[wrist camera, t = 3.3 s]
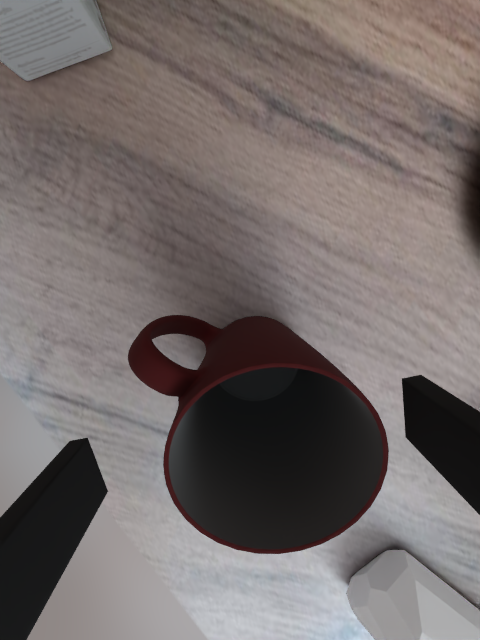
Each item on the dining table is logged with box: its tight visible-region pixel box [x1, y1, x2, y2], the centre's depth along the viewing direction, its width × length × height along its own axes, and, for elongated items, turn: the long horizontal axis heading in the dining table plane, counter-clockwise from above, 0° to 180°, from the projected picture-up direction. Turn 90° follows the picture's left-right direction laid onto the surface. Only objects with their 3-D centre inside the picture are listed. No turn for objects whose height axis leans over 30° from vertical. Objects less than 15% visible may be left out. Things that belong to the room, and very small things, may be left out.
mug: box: [128, 315, 389, 554], centre depth 16 cm, size 12×9×11 cm
